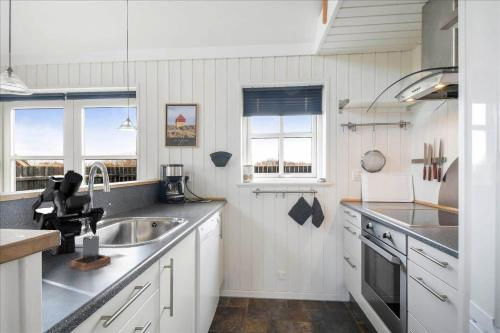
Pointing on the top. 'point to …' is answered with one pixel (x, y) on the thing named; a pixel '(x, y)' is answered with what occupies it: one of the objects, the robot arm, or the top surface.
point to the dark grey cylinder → (90, 249)
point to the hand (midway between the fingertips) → (80, 236)
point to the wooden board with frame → (86, 267)
